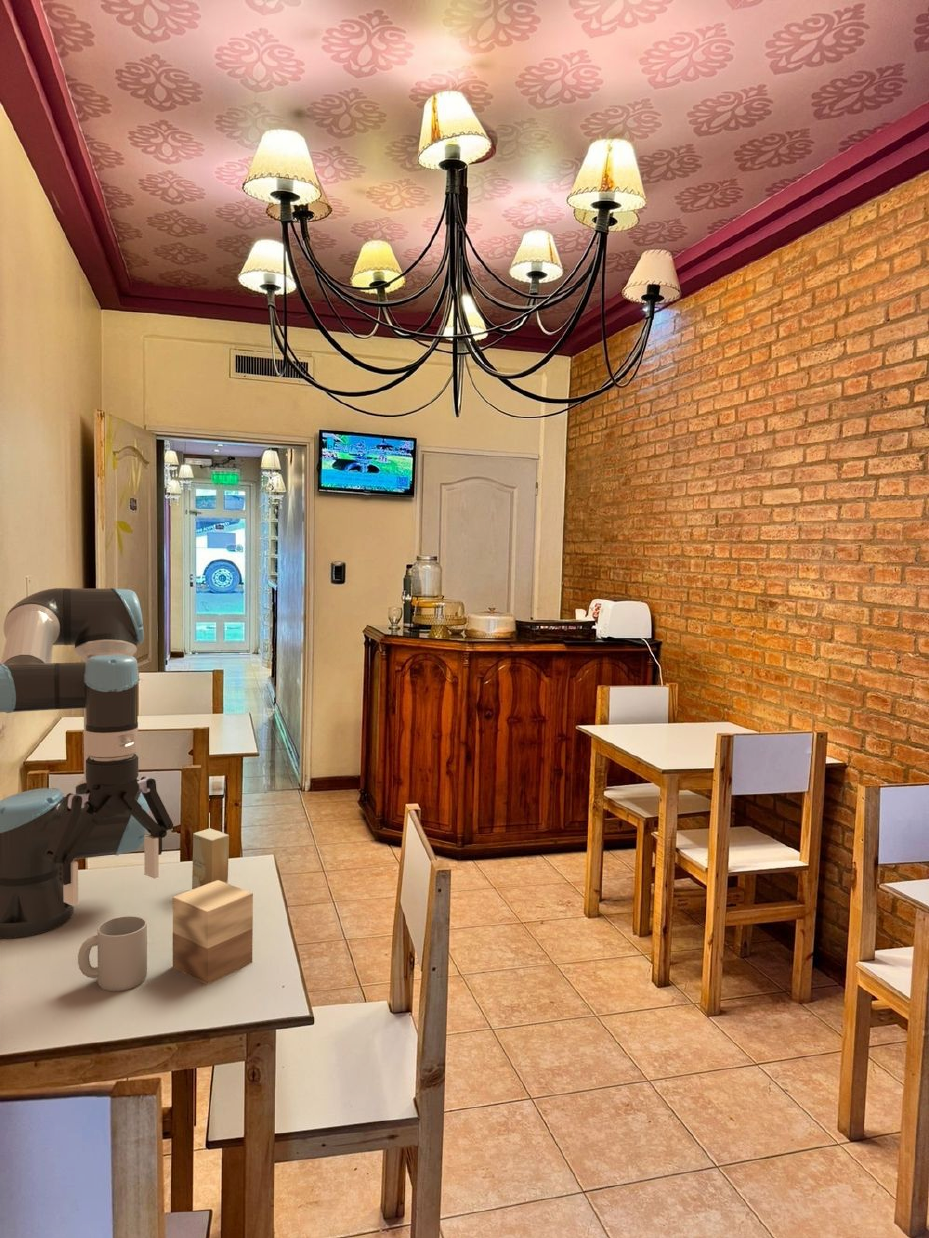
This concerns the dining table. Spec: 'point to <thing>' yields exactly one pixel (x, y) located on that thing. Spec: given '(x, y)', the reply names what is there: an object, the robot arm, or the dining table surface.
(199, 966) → the walnut block
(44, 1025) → the dining table surface
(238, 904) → the beech block
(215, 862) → the skincare box
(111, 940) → the cup
